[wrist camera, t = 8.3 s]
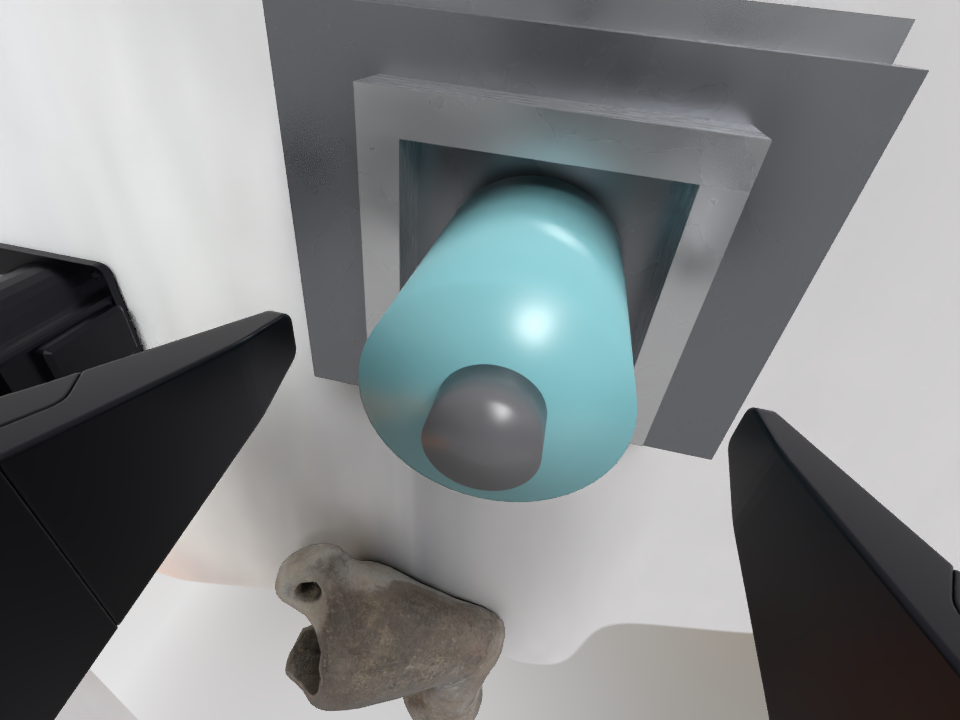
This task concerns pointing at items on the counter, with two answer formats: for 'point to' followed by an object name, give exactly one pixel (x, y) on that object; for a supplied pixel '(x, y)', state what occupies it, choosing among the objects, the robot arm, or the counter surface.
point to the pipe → (385, 637)
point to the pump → (509, 348)
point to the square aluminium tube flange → (590, 161)
